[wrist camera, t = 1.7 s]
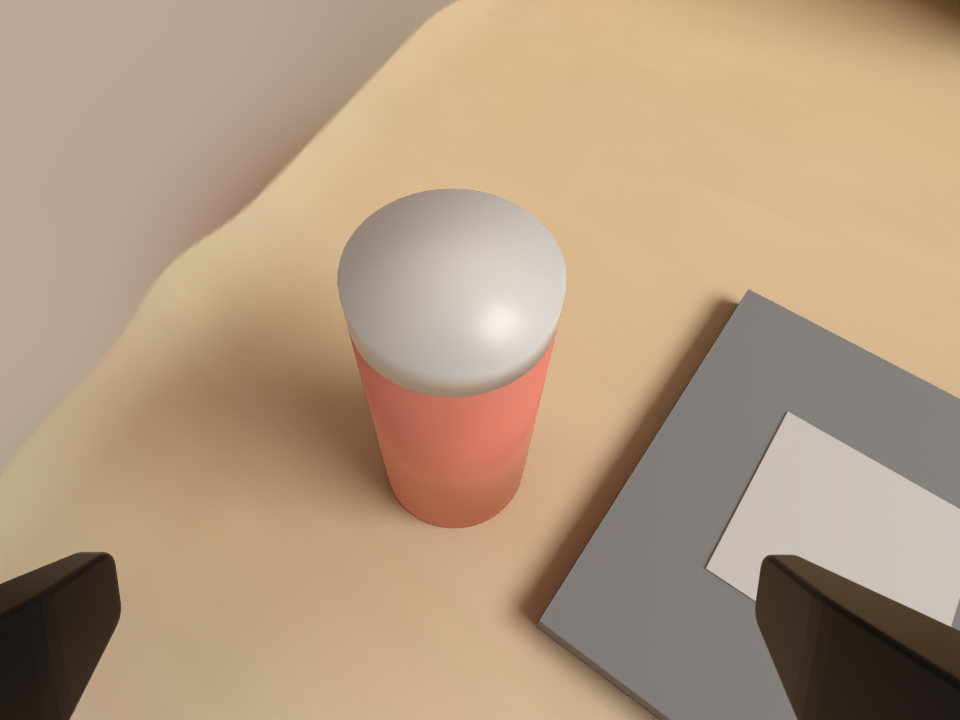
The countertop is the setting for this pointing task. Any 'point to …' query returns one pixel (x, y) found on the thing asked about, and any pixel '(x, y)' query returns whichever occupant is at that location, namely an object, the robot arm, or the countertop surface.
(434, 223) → the salt shaker
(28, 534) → the countertop surface
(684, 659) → the mat
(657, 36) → the countertop surface
